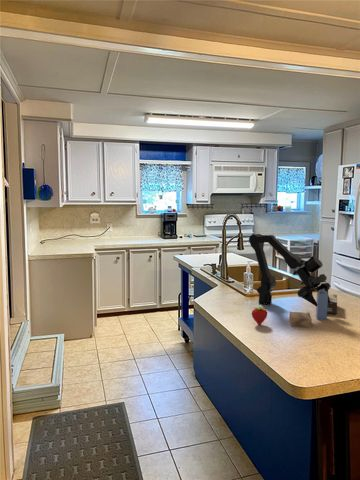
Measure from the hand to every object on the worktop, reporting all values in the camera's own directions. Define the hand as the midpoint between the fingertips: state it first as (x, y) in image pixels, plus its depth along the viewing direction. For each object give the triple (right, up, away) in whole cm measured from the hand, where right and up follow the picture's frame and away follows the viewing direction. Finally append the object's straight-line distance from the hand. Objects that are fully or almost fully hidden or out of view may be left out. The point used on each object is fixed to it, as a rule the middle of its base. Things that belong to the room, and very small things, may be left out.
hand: (323, 304), depth 180 cm
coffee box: (+12, -1, +23) cm, 26 cm away
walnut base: (-13, -8, -6) cm, 17 cm away
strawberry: (-33, -8, -8) cm, 35 cm away
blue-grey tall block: (-1, -7, +2) cm, 7 cm away
